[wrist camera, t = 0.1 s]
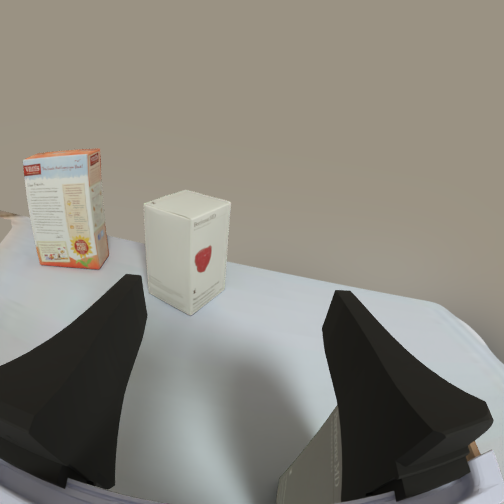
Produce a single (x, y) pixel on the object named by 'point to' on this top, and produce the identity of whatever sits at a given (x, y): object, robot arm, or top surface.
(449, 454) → the robot arm
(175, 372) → the top surface
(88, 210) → the cracker box
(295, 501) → the skincare box
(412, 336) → the top surface
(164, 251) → the supplement box
